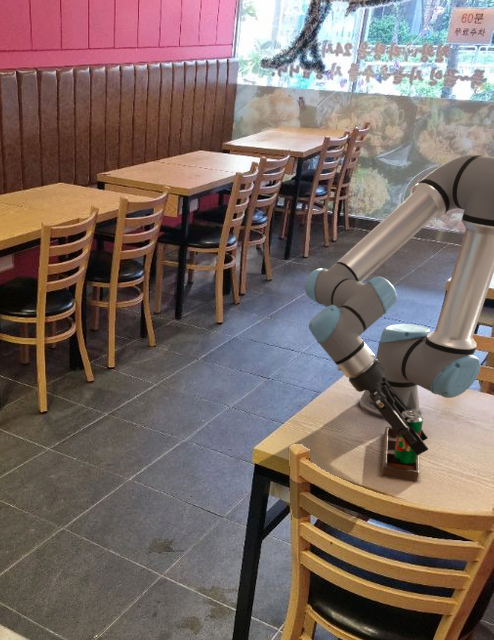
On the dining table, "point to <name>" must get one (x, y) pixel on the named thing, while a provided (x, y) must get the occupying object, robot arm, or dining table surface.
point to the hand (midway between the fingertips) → (422, 446)
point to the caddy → (390, 465)
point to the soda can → (402, 448)
